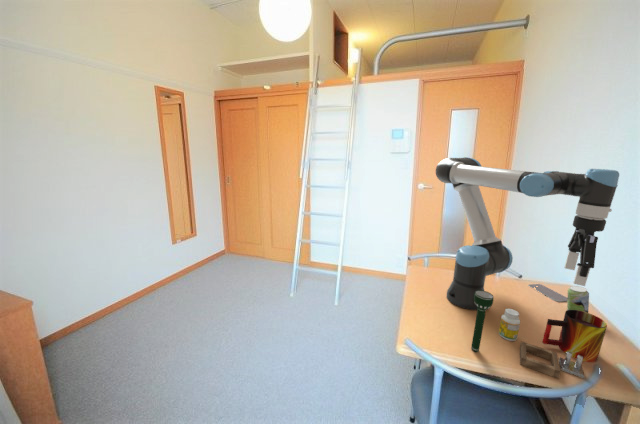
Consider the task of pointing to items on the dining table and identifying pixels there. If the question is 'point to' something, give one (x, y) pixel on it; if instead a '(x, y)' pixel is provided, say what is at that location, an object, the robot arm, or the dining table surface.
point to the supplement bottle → (509, 325)
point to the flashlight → (480, 315)
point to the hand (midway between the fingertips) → (573, 276)
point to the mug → (578, 334)
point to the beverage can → (578, 299)
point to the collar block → (536, 365)
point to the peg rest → (572, 365)
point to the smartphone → (549, 293)
